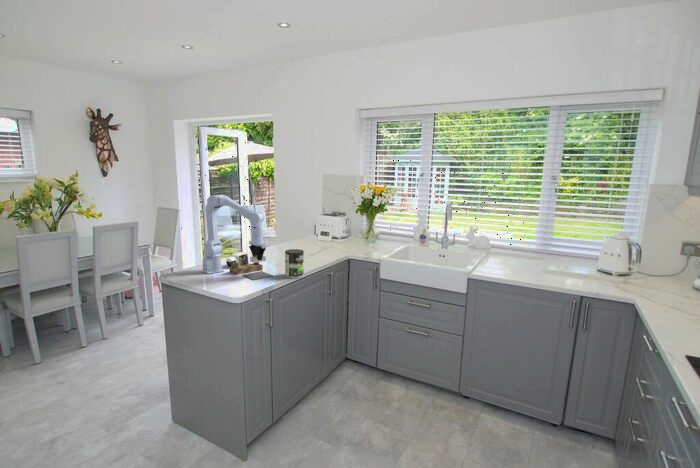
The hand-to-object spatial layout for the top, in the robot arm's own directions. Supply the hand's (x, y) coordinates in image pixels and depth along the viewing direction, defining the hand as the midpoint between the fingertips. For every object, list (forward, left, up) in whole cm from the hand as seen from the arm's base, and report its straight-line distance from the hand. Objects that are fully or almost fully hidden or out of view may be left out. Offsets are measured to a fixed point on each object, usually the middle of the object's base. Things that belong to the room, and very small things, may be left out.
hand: (257, 259), depth 203 cm
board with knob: (0, +13, -10) cm, 16 cm away
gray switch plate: (0, 0, -10) cm, 10 cm away
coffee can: (+16, -12, -10) cm, 22 cm away
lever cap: (0, 0, -1) cm, 1 cm away
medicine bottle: (+7, +28, -5) cm, 30 cm away
